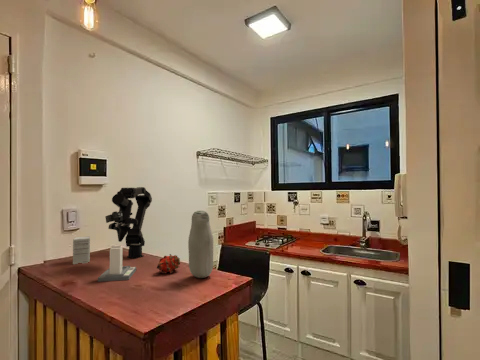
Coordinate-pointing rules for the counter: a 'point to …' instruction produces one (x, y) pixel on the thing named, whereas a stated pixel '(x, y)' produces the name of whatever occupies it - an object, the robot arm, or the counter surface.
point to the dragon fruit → (168, 264)
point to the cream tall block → (116, 259)
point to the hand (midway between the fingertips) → (119, 241)
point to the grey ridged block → (81, 250)
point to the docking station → (125, 274)
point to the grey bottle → (200, 245)
